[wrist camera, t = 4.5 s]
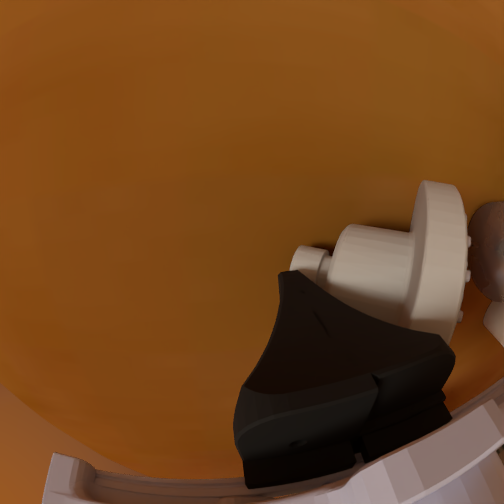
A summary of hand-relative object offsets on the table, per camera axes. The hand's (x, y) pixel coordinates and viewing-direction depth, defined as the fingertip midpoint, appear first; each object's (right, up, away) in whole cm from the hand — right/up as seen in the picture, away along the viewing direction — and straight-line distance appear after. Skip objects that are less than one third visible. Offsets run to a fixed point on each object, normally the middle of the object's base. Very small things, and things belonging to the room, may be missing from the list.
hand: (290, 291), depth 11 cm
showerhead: (0, +1, +2) cm, 2 cm away
